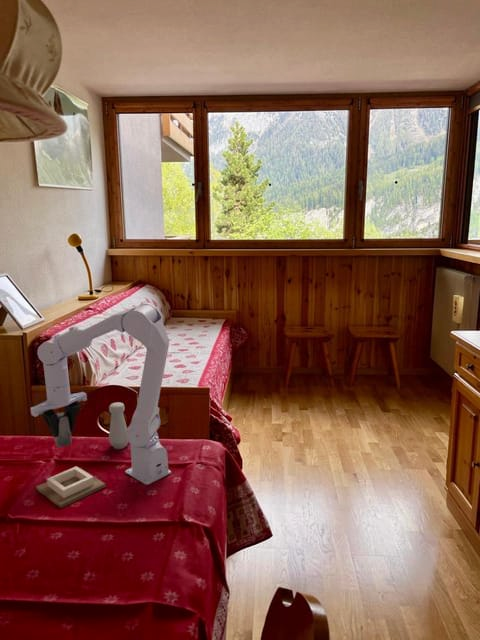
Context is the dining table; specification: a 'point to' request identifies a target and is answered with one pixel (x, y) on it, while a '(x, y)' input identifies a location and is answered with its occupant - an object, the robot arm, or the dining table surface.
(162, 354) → the robot arm
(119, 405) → the salt shaker
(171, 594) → the dining table surface
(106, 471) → the dining table surface
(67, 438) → the peg
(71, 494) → the socket board
